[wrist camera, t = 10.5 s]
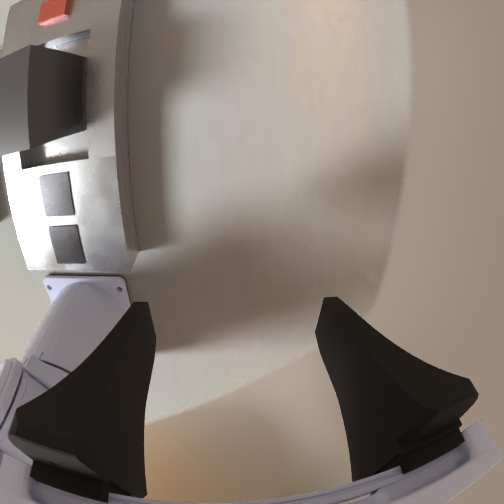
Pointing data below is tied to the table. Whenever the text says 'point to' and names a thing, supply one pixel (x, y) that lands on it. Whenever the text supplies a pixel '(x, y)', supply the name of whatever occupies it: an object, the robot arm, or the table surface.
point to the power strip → (77, 143)
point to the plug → (39, 97)
